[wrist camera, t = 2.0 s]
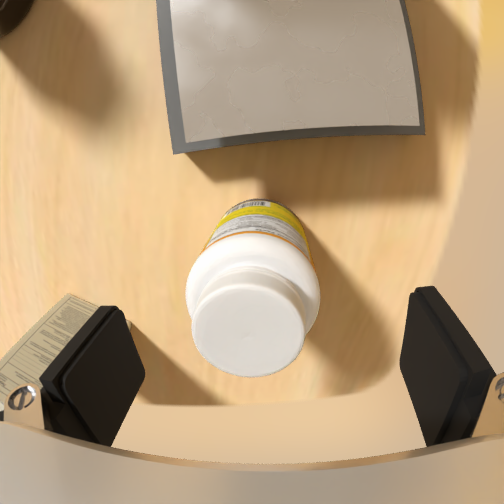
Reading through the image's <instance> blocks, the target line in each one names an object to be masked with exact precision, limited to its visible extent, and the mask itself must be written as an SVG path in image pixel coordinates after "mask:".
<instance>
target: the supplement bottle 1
mask: <svg viewBox="0 0 504 504" xmlns="http://www.w3.org/2000/svg"><path fill="white" fill-rule="evenodd" d="M33 1H34V0H0V38H1V37H3V36H5V35H7V34H8V33H9V32H11V31H12V30H13V29H14V28H15V27H16V26H17V25H18V24H19V23H20V22H21V21H22V20H23V18H24V17H25V15H26V14H27V12H28V11H29V9H30V7H31V5H32V3H33Z"/></svg>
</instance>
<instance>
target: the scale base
mask: <svg viewBox="0 0 504 504" xmlns="http://www.w3.org/2000/svg"><path fill="white" fill-rule="evenodd" d="M399 1H400V5H401V9H402V13H403V18H404V22H405V27H406V32H407V37H408V42H409V47H410V53H411V59H412V65H413V71H414V78H415V86H416V94H417V103H418V113H419V124H420V126H395V125H384V126H342V127H322V128H306V129H293V130H282V131H271V132H262V133H253V134H245V135H237V136H229V137H222V138H215V139H208V140H202V141H196V142H189V143H186V140H185V133H184V126H183V118H182V111H181V103H180V95H179V86H178V78H177V69H176V60H175V51H174V41H173V31H172V20H171V9H170V0H156V4H157V18H158V30H159V41H160V52H161V62H162V71H163V80H164V89H165V97H166V106H167V113H168V121H169V128H170V136H171V143H172V149H173V155H174V154H180V153H186V152H192V151H198V150H205V149H212V148H219V147H226V146H233V145H241V144H250V143H259V142H268V141H278V140H289V139H301V138H315V137H332V136H354V135H425V125H424V113H423V103H422V94H421V86H420V78H419V71H418V65H417V59H416V53H415V47H414V42H413V37H412V32H411V27H410V22H409V18H408V14H407V9H406V5H405V1H404V0H399Z"/></svg>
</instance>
